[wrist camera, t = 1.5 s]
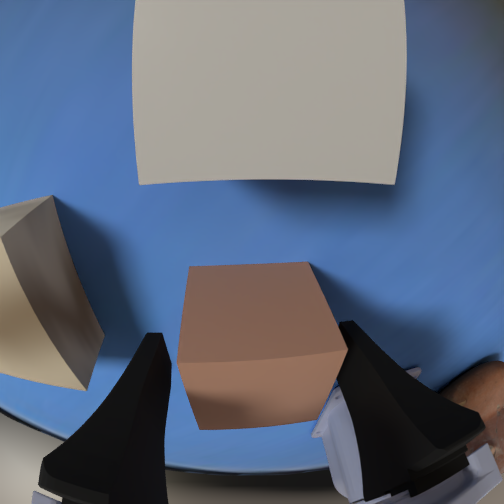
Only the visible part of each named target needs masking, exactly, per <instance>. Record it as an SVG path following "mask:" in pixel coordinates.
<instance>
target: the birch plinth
mask: <svg viewBox="0 0 504 504" xmlns="http://www.w3.org/2000/svg"><path fill="white" fill-rule="evenodd" d="M104 336H105V335H104V333H103V331H102V329H101V327H100V325H99V323H98V321H97V319H96V316H95V314H94V312H93V310H92V308H91V306H90V303H89V301H88V299H87V296H86V294H85V292H84V289H83V287H82V284H81V282H80V279H79V277H78V274H77V272H76V269H75V266H74V264H73V261H72V258H71V255H70V253H69V250H68V247H67V244H66V241H65V237H64V234H63V231H62V228H61V224H60V221H59V218H58V214H57V210H56V207H55V203H54V199H53V195H50V196H45V197H41V198H36V199H32V200H28V201H24V202H20V203H16V204H12V205H9V206H5V207H1V208H0V373H4V374H7V375H11V376H14V377H18V378H22V379H26V380H30V381H35V382H39V383H44V384H49V385H54V386H59V387H65V388H71V389H77V390H84V391H87V389H88V386H89V382H90V379H91V376H92V372H93V369H94V366H95V363H96V360H97V357H98V354H99V351H100V348H101V345H102V342H103V339H104Z"/></svg>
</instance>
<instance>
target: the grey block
mask: <svg viewBox="0 0 504 504" xmlns="http://www.w3.org/2000/svg"><path fill="white" fill-rule="evenodd" d="M406 61H407V51H406V21H405V7H404V0H136V2H135V14H134V28H133V51H132V95H133V120H134V136H135V148H136V159H137V169H138V178H139V185H146V184H159V183H173V182H189V181H211V180H249V179H289V180H327V181H348V182H364V183H378V184H390V185H395V179H396V173H397V167H398V161H399V154H400V146H401V138H402V129H403V119H404V107H405V92H406Z"/></svg>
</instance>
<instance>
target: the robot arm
mask: <svg viewBox="0 0 504 504" xmlns="http://www.w3.org/2000/svg"><path fill="white" fill-rule="evenodd" d="M338 328H339V330H340V332H341V334H342V337H343V339H344V341H345V344H346V346H347V348H348V351H347V353H346V356H345V358H344V361H343V363H342V366H341V368H340V370H339V373H338V375H337V381H338V384H339V386H340V387H337V388H335V389H334V390H333V392H332V394H331V396H330V398H329V400H328V402H327V404H326V406H325V408H324V410H323V412H322V414H321V416H320V418H319V420H318V422H317V424H316V426H315V428H314V430H313V432H312V433H311V436H312V437H313V438H317V437H322V440H323V444H324V447H325V451H326V455H327V459H328V463H329V467H330V471H331V475H332V479H333V483H334V485H335V487H336V489H337V490H338V492H339V493H341V494H342V495H343V496H345V497H347V498H348V499H349V503H350V504H351V503H355V502H358V503H356V504H476V503H477V502H478V501H479V500H480V499H481V498H483V497H484V496H485V495H486V494H487V493H488V492H490V491H491V490H492V489H493V488H494V487H495V486H496V485H497V484H499V483H500V482H501V481H502V477H501V474H500V471H499V469H498V466H497V464H496V461H495V459H494V457H493V454H492V452H491V450H490V447H489V445H488V443H485V444H484V445H483V446H481V447H480V448H478V449H477V450H475V451H474V452H473V453H471V454H470V455H468V456H467V457H466V454H465V452H467V451H468V448H467V446H466V444H468V443H469V442H470V441H472V440H473V439H474V438H475V437H477V436H478V435H479V434H480V433H482V432H483V431H484V430H485V428H486V426H485V424H484V422H483V420H482V418H481V416H480V414H479V412H476V411H474V410H471V409H469V408H466V407H463V406H461V405H459V404H457V403H454V402H452V401H450V400H448V399H446V398H445V397H443V396H441V395H439V394H438V393H436V392H434V391H433V390H431V389H429V388H428V387H426V386H425V385H423V384H422V383H421V382H419V381H418V380H417V377H418V376H419V375H420V373H421V369H420V367H416V368H413V369H410V370H406V371H405V370H404V369H403V368H401V367H400V366H399V365H398V364H397V363H396V362H395V361H393V360H392V359H391V358H390V357H389V356H388V355H387V354H386V353H385V352H384V351H383V350H382V349H381V348H380V347H379V346H378V345H377V344H376V343H375V342H374V341H373V340H372V339H371V338H370V337H369V336H368V335H367V334H366V333H365V332H364V331H363V330H362V329H361V328H360V327H359V326H358V325H357V324H356V323H355V322H354V321H353V320H352V321H345V322H340V323H339V327H338ZM171 368H172V363H171V360H170V357H169V354H168V351H167V347H166V344H165V341H164V337H163V334H162V333H147V334H146V335H145V337H144V339H143V341H142V342H141V344H140V346H139V348H138V349H137V351H136V353H135V355H134V356H133V358H132V360H131V361H130V363H129V365H128V366H127V368H126V369H125V371H124V373H123V374H122V376H121V377H120V379H119V380H118V382H117V383H116V385H115V386H114V387H113V389H112V390H111V392H110V393H109V395H108V396H107V397H106V399H105V400H104V401H103V402H102V404H101V405H100V406H99V407H98V409H97V410H96V411H95V412H94V413H93V414H92V415H91V417H90V418H89V419H88V420H87V421H86V422H85V423H84V424H83V425H82V426H81V427H80V428H79V429H78V430H77V431H76V432H75V433H74V434H73V435H72V436H70V437H69V438H68V439H67V440H66V441H65V442H64V443H63V444H61V445H60V446H59V447H57V448H56V449H55V450H53V451H52V452H51V453H50V454H48V455H47V456H45V457H44V458H43V461H42V464H41V469H40V475H39V482H38V485H39V486H40V487H41V488H43V489H45V490H47V491H49V492H51V493H53V494H56V495H58V496H60V497H62V502H60V501H57V500H55V499H53V498H50V497H48V496H45V495H43V494H41V493H39V492H36V491H33V496H32V504H168V498H167V488H166V477H165V454H164V438H165V426H166V418H167V411H168V403H169V396H170V389H171ZM362 500H364V501H362ZM359 501H361V502H359Z"/></svg>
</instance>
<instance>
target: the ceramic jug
mask: <svg viewBox="0 0 504 504" xmlns="http://www.w3.org/2000/svg"><path fill="white" fill-rule="evenodd" d="M439 395H441V396H443V397H445V398H446V399H448V400H450V401H452V402H454V403H457V404H459V405H461V406H463V407H466V408H469V409H471V410H474V411H476V412H479V414H480V416H481V418H482V420H483V422H484V424H485V426H486V428H485V430H484V431H483V432H482V433H480V434H479V435H478V436H477V437H475V438H474V439H473V440H472V441H470V442H469V443H468V444H466V446H467V448H468V451H467V452H465V454H466V457H467V456H468V455H470V454H471V453H473V452H474V451H475V450H477V449H478V448H480V447H481V446H483V445H484V444H485V443H488V445H489V447H490V450H491V452H492V454H493V457H494V459H495V461H496V464H497V466H498V469H499V471H500V474H502V473H504V408H503V405H504V362H502V361H490V362H486V363H483V364H481V365H479V366H477V367H475V368H473V369H471V370H469V371H468V372H466V373H465V374H463V375H462V376H460V377H459V378H458V379H456V380H455V381H454V382H452V383H451V384H450V385H448V386H447V387H446V388H445V389H444V390H443V391H441V392H440V393H439Z"/></svg>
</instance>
